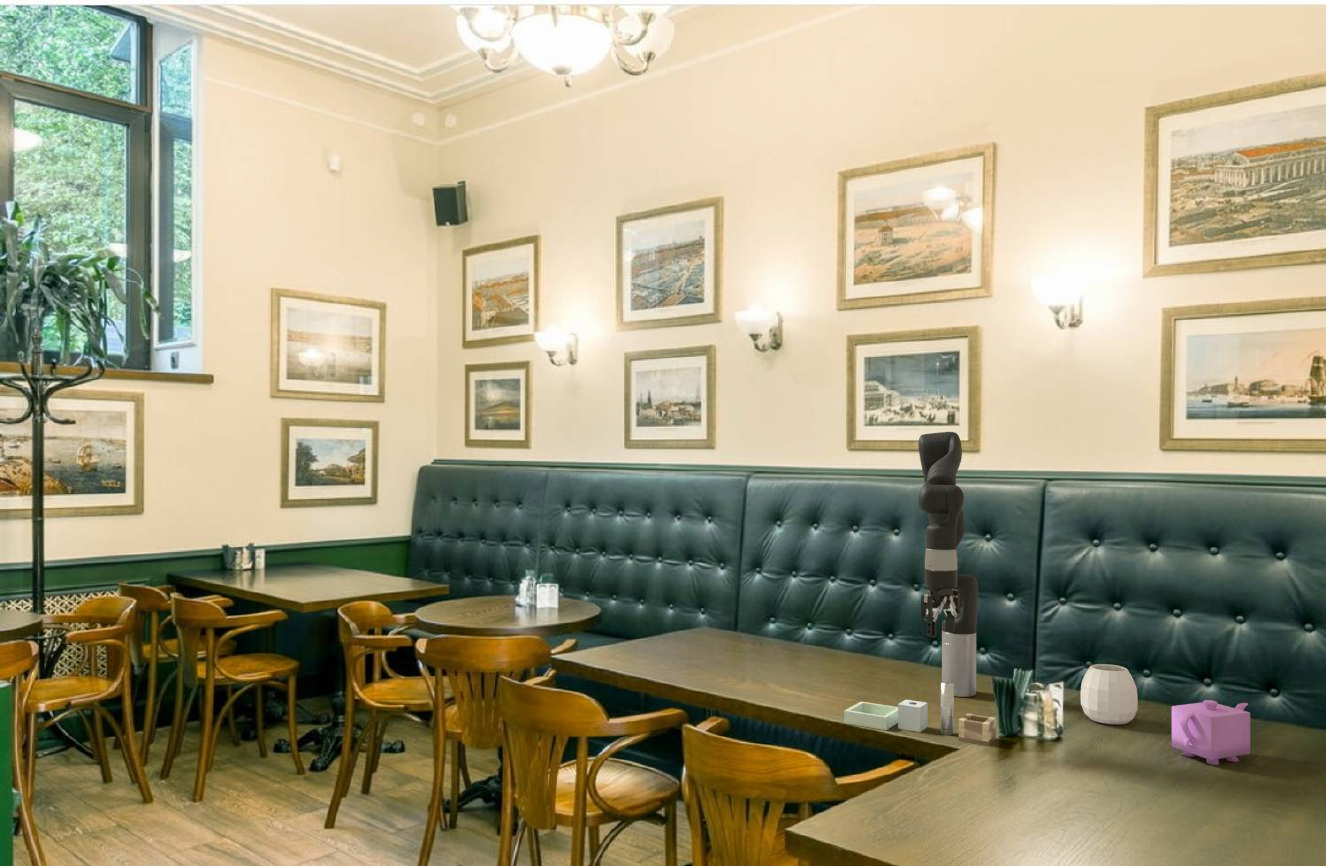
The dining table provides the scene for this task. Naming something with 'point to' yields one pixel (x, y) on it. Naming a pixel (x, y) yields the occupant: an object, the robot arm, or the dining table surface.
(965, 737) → the oak block
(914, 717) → the white cube
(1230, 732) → the teapot
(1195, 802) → the dining table surface
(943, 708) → the cylinder
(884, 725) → the tray
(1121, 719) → the white vase
